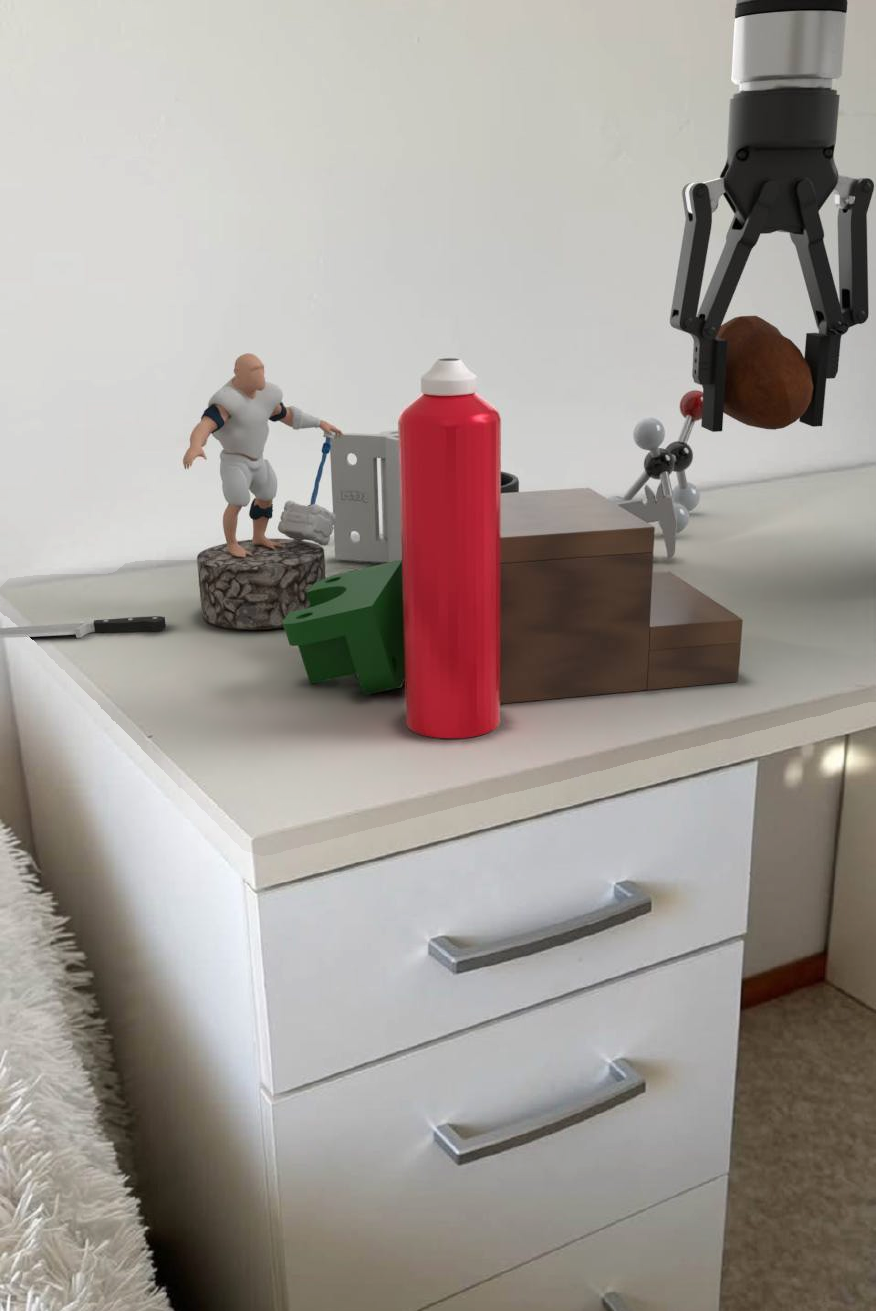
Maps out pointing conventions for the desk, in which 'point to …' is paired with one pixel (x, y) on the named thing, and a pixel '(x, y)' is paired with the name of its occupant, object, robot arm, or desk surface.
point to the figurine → (258, 508)
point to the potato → (763, 375)
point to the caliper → (656, 514)
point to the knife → (87, 627)
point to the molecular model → (669, 459)
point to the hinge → (366, 496)
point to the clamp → (353, 628)
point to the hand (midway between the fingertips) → (761, 425)
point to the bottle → (451, 554)
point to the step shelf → (599, 605)
